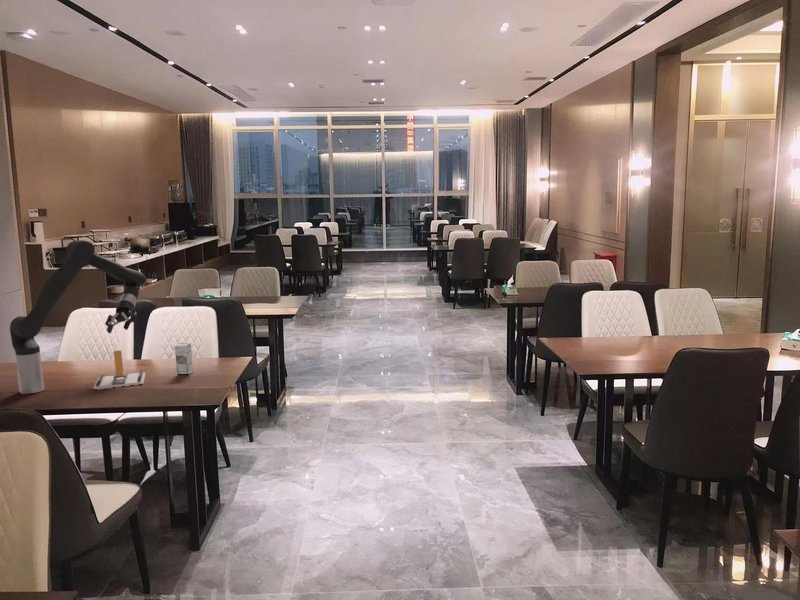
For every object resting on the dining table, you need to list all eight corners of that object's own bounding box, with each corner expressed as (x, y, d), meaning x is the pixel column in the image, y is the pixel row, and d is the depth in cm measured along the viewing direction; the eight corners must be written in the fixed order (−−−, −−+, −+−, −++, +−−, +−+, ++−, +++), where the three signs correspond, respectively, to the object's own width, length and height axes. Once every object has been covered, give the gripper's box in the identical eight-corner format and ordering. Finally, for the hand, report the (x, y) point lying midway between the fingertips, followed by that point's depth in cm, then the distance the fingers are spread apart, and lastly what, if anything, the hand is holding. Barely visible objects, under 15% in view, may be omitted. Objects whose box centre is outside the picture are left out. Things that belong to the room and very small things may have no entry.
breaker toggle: (113, 378, 287) (110, 352, 285) (114, 376, 290) (111, 350, 288) (126, 376, 288) (123, 351, 286) (126, 375, 291) (124, 349, 289)
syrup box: (193, 371, 303) (191, 342, 301) (188, 375, 297) (185, 345, 295) (182, 372, 304) (179, 342, 301) (176, 375, 298) (174, 345, 296)
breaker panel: (93, 389, 278) (93, 384, 277) (99, 379, 295) (98, 374, 294) (142, 384, 284) (142, 378, 284) (145, 374, 301) (144, 369, 300)
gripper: (108, 302, 304) (98, 328, 293) (135, 297, 302) (126, 322, 291) (117, 312, 309) (108, 338, 298) (144, 307, 307) (135, 332, 296)
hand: (117, 330), depth 294 cm, fingers open, 8 cm apart
